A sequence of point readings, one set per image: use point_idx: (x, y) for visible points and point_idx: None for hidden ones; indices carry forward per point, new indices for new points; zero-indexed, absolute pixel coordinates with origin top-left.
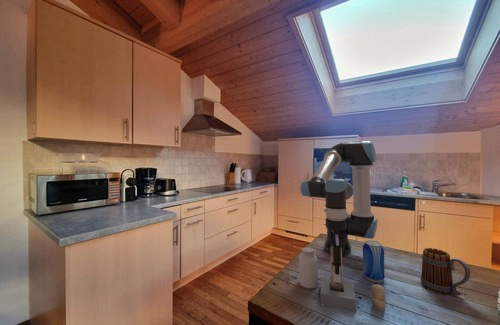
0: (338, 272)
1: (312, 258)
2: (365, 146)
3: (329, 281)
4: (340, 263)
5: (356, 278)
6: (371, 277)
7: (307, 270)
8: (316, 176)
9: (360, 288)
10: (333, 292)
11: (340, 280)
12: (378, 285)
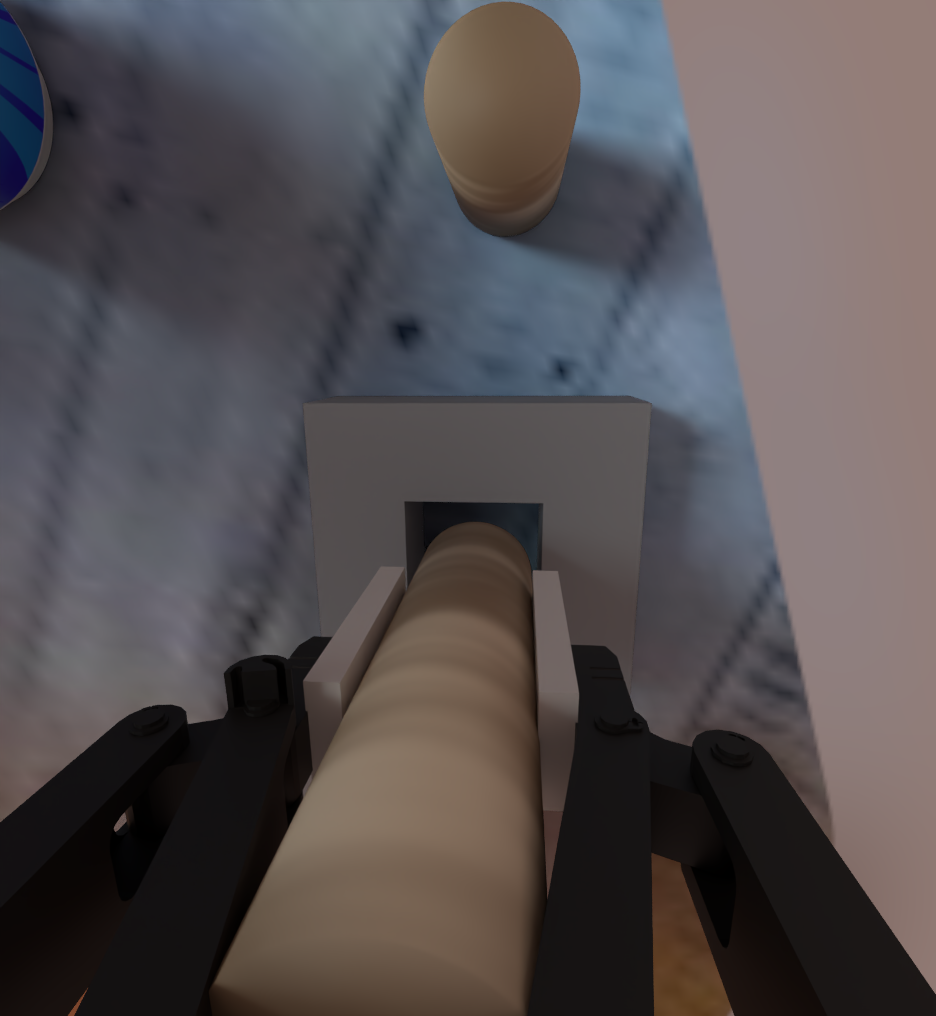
0: (617, 675)
1: None
2: None
3: None
4: (789, 796)
5: (65, 309)
6: (27, 134)
7: None
8: None
9: (246, 299)
10: (576, 606)
11: (558, 586)
12: (439, 76)
